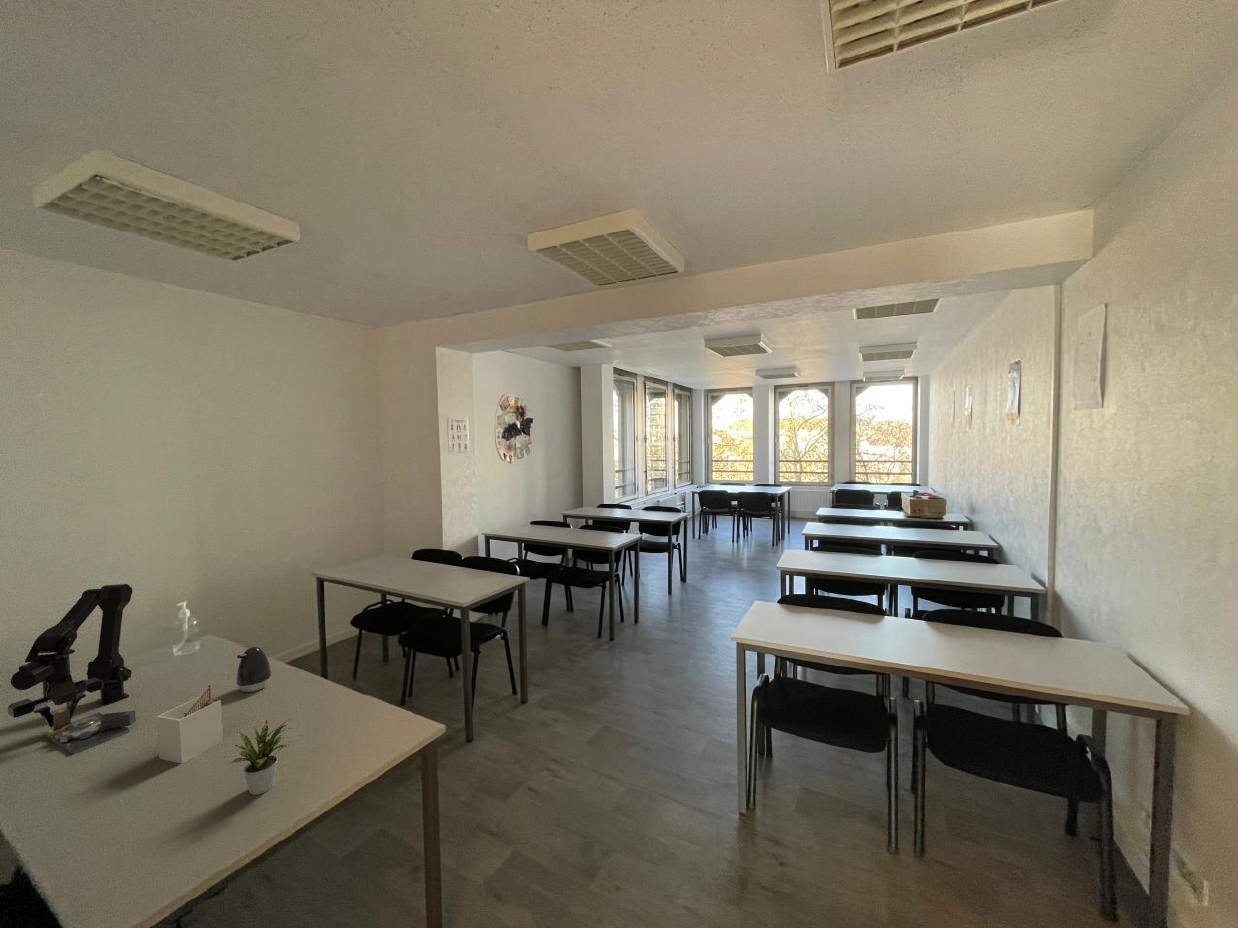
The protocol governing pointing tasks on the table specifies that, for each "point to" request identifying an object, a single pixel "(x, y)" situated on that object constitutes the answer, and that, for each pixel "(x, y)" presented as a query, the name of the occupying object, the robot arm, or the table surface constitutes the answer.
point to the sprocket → (95, 725)
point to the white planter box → (189, 729)
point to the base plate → (86, 743)
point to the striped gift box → (60, 718)
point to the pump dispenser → (253, 670)
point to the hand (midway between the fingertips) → (60, 723)
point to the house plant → (260, 759)
